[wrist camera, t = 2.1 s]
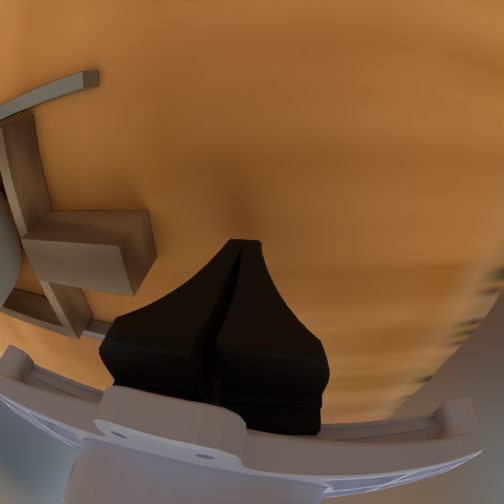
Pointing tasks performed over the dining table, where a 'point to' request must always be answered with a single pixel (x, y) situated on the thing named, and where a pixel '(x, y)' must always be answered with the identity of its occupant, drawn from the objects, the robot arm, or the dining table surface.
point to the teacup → (8, 250)
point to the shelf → (43, 95)
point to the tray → (67, 242)
